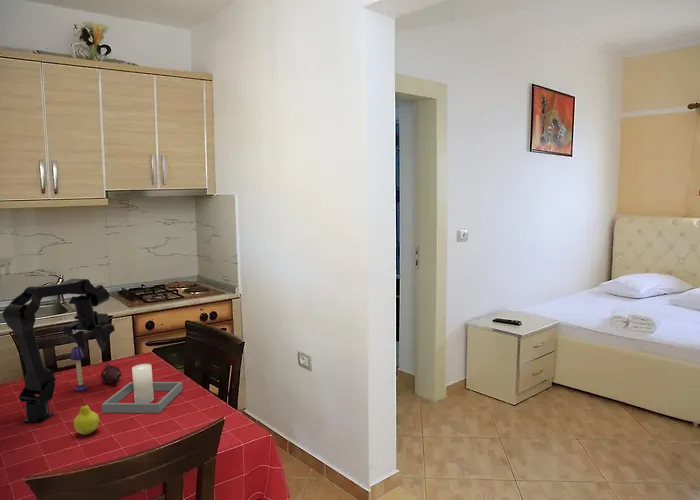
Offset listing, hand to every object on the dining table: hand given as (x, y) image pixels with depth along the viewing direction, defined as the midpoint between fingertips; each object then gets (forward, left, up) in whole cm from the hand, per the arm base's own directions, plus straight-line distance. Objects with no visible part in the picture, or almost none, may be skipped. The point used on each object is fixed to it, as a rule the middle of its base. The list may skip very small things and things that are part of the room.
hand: (93, 349), depth 196 cm
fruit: (-35, -17, -16) cm, 42 cm away
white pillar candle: (-11, -24, -15) cm, 30 cm away
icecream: (+7, -2, -16) cm, 17 cm away
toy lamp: (-1, +6, -15) cm, 17 cm away
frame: (-11, -24, -15) cm, 30 cm away
